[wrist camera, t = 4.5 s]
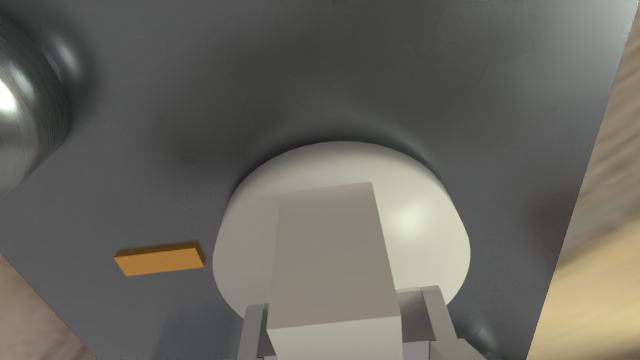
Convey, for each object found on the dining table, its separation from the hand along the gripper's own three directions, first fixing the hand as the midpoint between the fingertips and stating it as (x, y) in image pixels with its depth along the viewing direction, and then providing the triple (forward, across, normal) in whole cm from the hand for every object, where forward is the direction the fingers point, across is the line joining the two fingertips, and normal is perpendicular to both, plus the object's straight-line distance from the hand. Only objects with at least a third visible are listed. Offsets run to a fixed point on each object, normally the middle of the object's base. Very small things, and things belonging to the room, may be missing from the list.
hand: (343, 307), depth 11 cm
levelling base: (+5, +2, +2) cm, 6 cm away
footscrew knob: (+3, 0, +2) cm, 3 cm away
